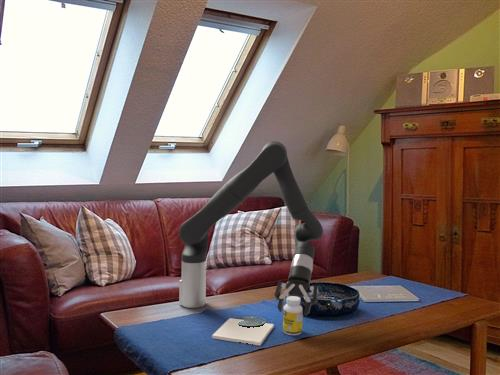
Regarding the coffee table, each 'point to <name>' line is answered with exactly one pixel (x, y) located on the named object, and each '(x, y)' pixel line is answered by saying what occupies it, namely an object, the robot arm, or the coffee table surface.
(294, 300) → the pill bottle
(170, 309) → the coffee table surface
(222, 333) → the cream tile
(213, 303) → the coffee table surface
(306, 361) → the coffee table surface
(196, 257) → the robot arm
